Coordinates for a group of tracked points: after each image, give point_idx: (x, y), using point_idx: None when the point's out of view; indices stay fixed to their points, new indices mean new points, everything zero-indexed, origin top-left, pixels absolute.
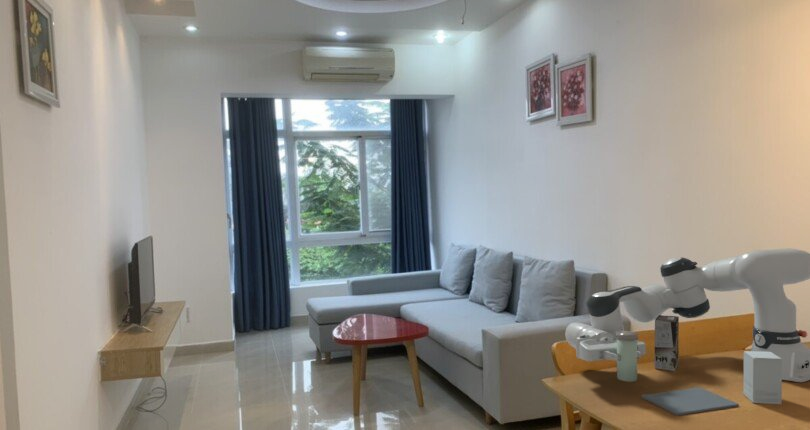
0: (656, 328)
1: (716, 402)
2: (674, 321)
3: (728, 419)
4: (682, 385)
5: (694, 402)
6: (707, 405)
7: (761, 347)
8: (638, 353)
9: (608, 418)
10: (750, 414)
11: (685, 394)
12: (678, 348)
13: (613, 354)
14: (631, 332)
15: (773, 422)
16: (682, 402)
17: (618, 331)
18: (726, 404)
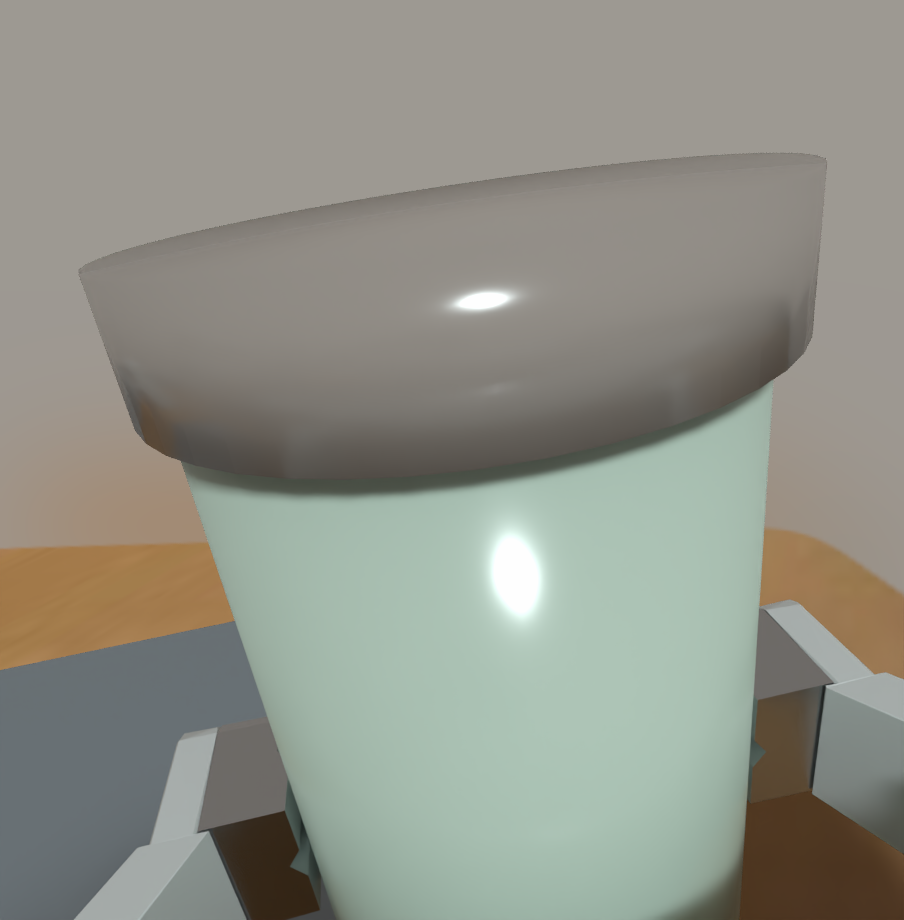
0: None
1: (28, 705)
2: None
3: (200, 568)
4: None
5: (160, 711)
6: (136, 668)
7: None
8: (252, 724)
9: (845, 565)
10: (38, 609)
11: (39, 875)
12: None
13: (847, 652)
14: (222, 242)
15: (59, 552)
16: (239, 714)
17: (670, 207)
18: (13, 678)
